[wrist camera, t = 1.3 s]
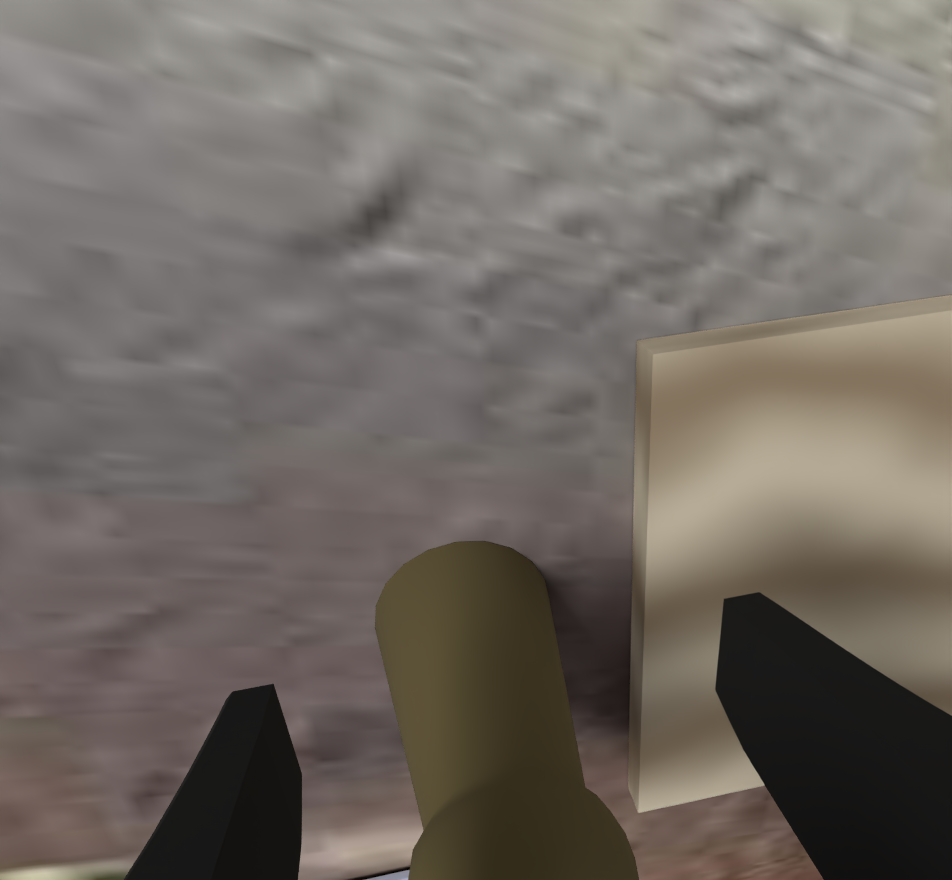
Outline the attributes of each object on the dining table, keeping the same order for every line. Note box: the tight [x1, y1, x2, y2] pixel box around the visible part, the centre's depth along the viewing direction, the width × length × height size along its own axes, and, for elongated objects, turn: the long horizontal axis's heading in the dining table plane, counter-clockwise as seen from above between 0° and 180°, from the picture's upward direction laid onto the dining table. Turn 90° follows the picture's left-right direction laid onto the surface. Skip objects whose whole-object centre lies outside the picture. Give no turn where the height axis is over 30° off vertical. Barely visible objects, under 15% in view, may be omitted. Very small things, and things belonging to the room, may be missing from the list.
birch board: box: [628, 295, 952, 813], centre depth 25 cm, size 20×14×1 cm
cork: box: [375, 541, 639, 880], centre depth 19 cm, size 6×6×11 cm
